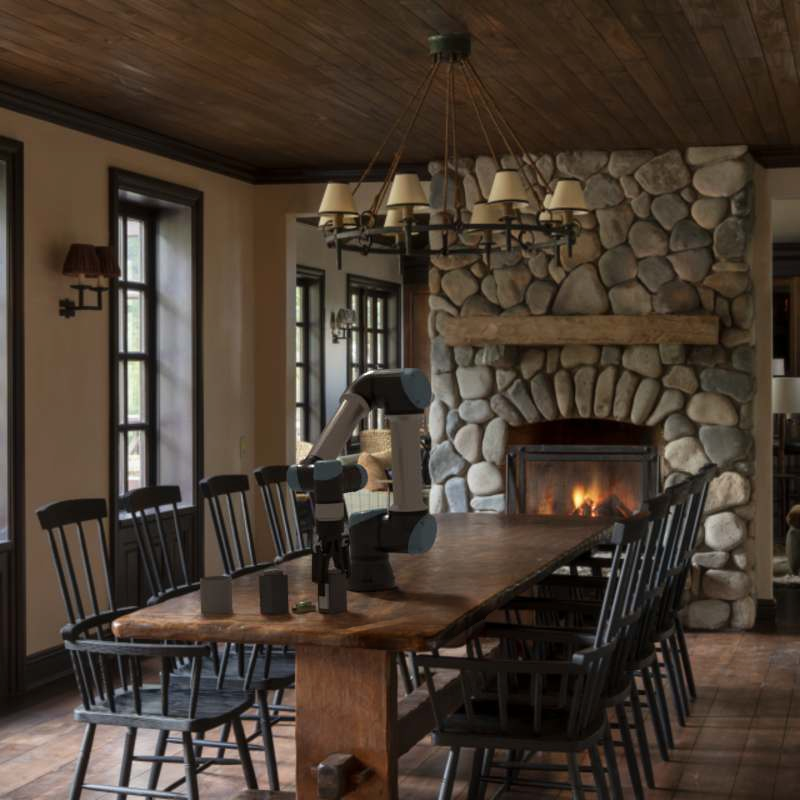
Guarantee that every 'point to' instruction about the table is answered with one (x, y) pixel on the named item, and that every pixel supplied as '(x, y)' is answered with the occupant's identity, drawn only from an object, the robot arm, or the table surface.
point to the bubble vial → (303, 607)
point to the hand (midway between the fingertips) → (332, 606)
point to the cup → (216, 594)
